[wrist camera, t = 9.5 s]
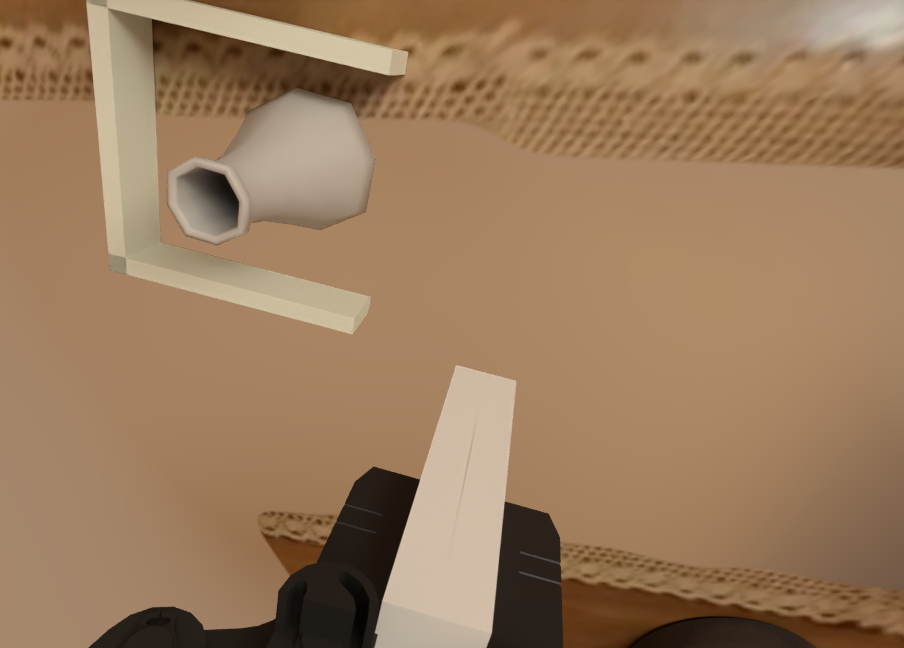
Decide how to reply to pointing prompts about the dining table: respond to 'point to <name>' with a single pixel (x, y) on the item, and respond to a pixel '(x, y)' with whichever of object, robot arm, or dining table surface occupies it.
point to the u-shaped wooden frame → (136, 165)
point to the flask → (278, 171)
